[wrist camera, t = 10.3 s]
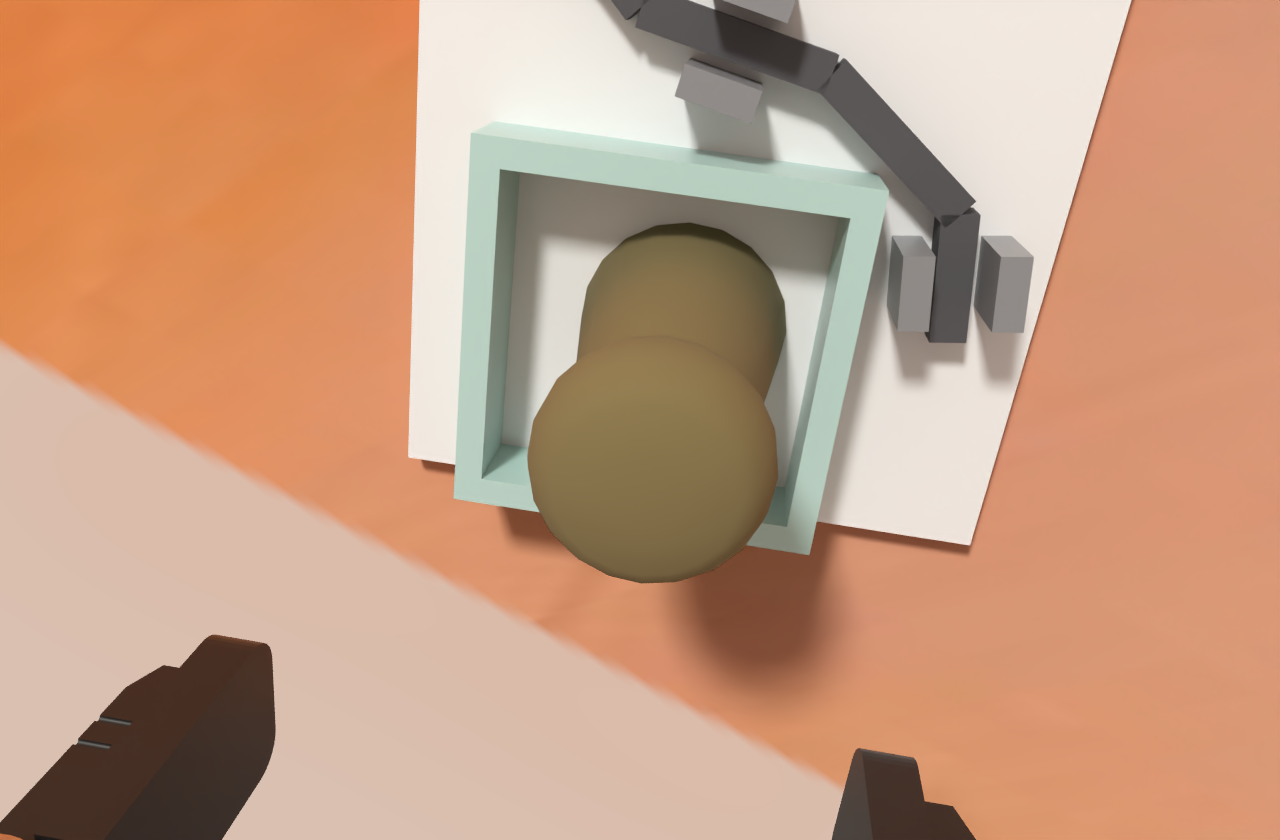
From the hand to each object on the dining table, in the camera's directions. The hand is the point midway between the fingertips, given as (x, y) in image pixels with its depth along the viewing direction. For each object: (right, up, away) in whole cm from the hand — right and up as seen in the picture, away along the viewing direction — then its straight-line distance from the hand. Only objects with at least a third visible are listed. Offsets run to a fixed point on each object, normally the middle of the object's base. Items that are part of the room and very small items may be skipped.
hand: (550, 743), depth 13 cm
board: (+4, +11, +15) cm, 19 cm away
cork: (+2, +7, +16) cm, 18 cm away
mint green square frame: (+2, +7, +16) cm, 17 cm away
